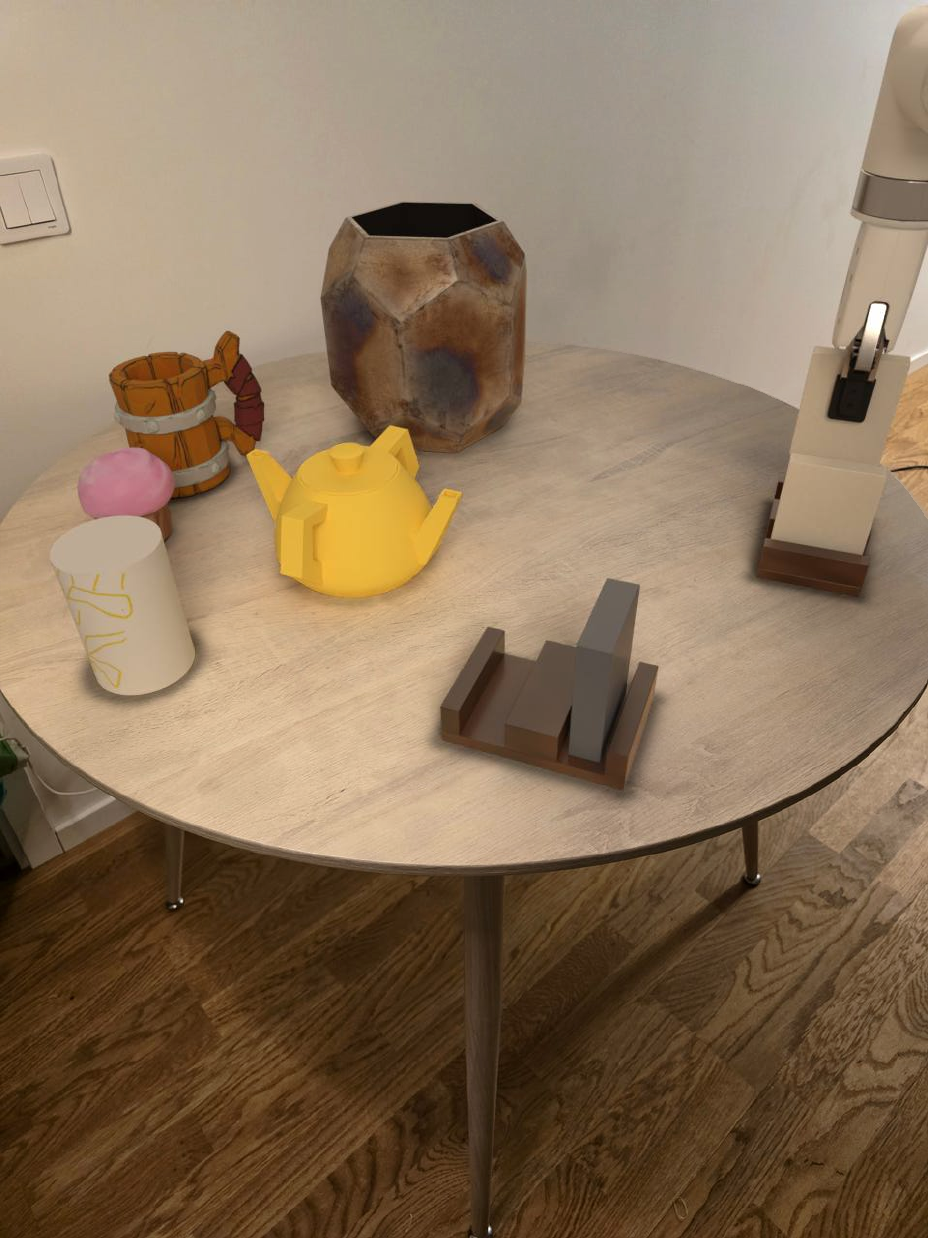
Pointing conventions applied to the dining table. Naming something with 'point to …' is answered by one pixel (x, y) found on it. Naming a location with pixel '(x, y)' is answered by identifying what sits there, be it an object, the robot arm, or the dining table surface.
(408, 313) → the planter
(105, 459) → the cupcake
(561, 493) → the dining table surface
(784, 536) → the white book
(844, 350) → the white book
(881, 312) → the robot arm
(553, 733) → the rack
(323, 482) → the teapot
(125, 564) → the cup
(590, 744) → the grey book
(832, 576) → the rack
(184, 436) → the mug
